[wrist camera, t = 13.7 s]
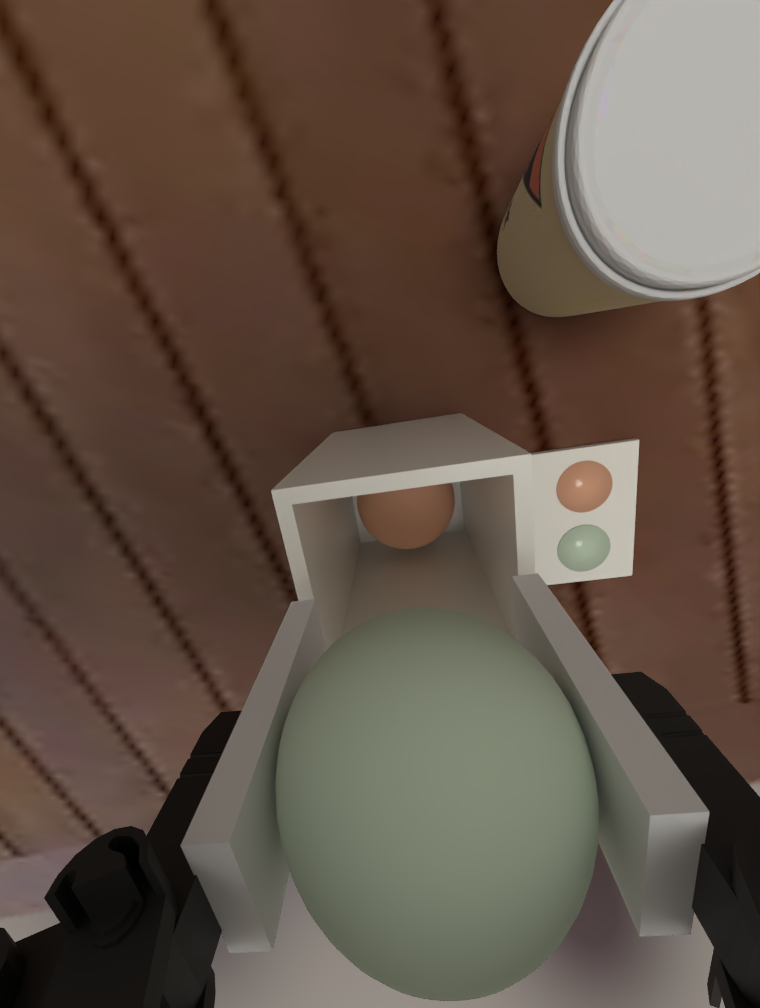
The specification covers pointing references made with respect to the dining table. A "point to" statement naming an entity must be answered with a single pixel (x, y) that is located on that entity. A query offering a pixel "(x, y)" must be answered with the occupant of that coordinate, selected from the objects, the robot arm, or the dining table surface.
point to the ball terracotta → (407, 515)
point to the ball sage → (437, 803)
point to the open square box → (421, 571)
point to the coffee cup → (644, 165)
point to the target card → (585, 511)
